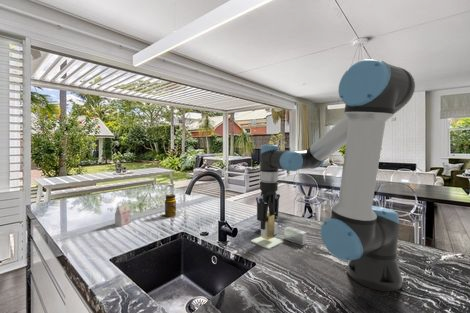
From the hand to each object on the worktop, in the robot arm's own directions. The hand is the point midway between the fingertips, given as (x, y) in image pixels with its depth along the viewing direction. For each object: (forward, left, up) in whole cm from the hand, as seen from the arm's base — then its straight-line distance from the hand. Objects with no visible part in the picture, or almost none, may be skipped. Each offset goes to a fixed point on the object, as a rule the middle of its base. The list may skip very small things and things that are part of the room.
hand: (267, 234), depth 102 cm
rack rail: (0, -10, -3) cm, 11 cm away
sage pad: (0, 0, -3) cm, 3 cm away
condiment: (+60, +15, -4) cm, 62 cm away
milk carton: (+63, +39, -4) cm, 74 cm away
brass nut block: (0, 0, -1) cm, 1 cm away
